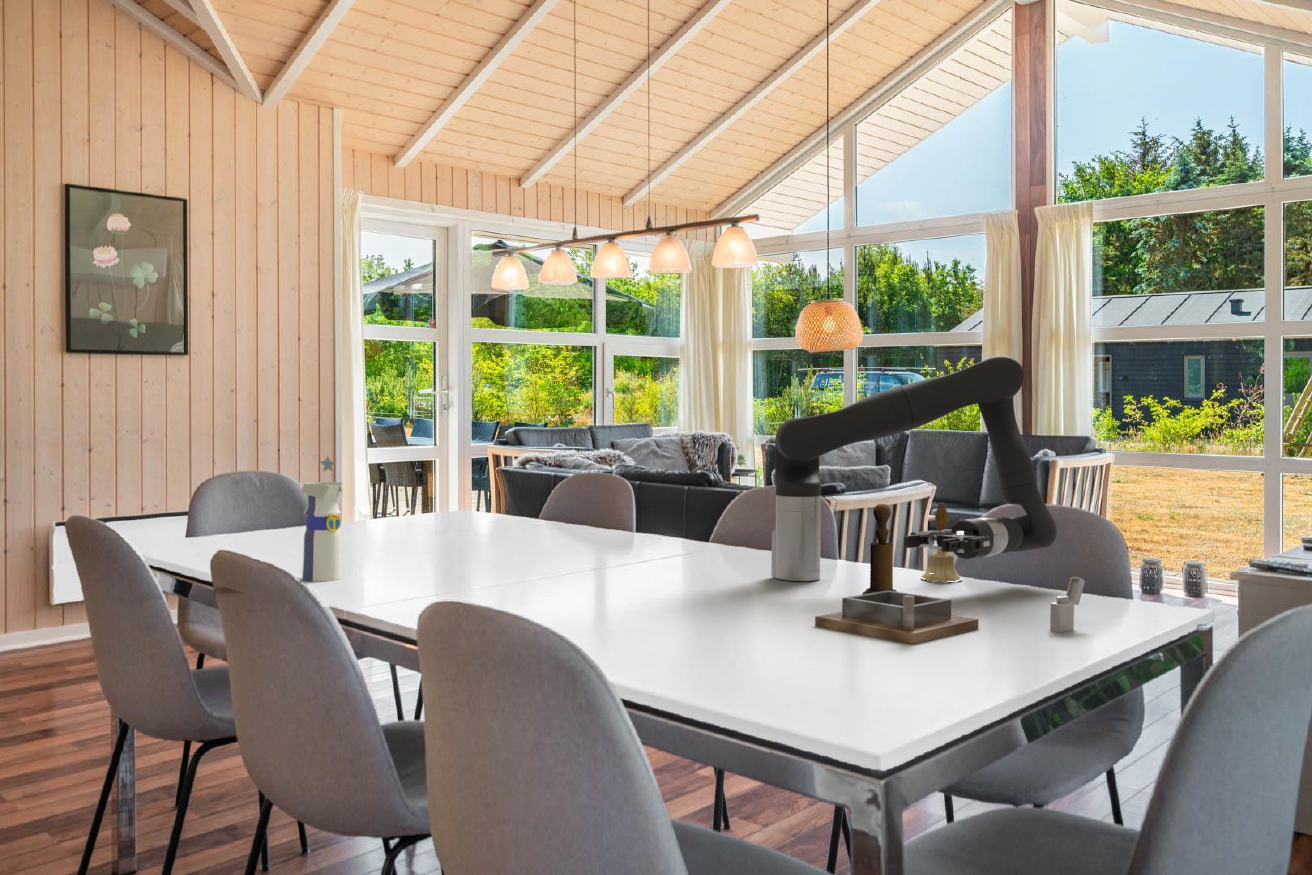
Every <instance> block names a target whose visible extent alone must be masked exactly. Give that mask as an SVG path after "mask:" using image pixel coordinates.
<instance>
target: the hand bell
mask: <svg viewBox="0 0 1312 875" xmlns="http://www.w3.org/2000/svg"><path fill="white" fill-rule="evenodd" d="M934 520H935V522H934V523H935V527H936V531H942V530H944V529H948V524H949V515H948V510H947V508H946V504H945V503H944V502H939V503H938V504H937V508H936V511H935V516H934ZM929 573H934V574H929ZM921 577H923V578H925V580H928V581H935V582H947V581H956V580H959V579H960V578H962V577H961V576H960V575H959V574H958V572H957V571H956V568H955V562H954V556H953V554H952V553H951V552H942V550H936V551H934V552H932V553H931V554H930V558H929V564H928V566H927V569H926V571H925V572H924V573H923V575H922V576H921Z"/></svg>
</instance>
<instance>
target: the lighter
mask: <svg viewBox="0 0 1312 875" xmlns="http://www.w3.org/2000/svg"><path fill="white" fill-rule="evenodd" d="M1085 582H1086V581H1085V580H1084V579H1083V578H1081V577H1078V576H1071V577H1070V579H1069V582H1068V587H1067V588H1066V589H1067V590H1066V593H1065V595H1060V596H1056V601H1055V602H1051V603H1050V612H1049V614H1050V615H1049V616H1050V617H1049V618H1050V623H1049V624H1050V626H1049V627H1050V628H1049V630H1050V632H1054V633H1056V632H1057V633H1063V632H1068V631H1073V630H1074V628H1075V622H1074V620H1075V606H1078V605H1079V604H1080V600H1081V598H1082V594H1083V590H1084V586H1085Z"/></svg>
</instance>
